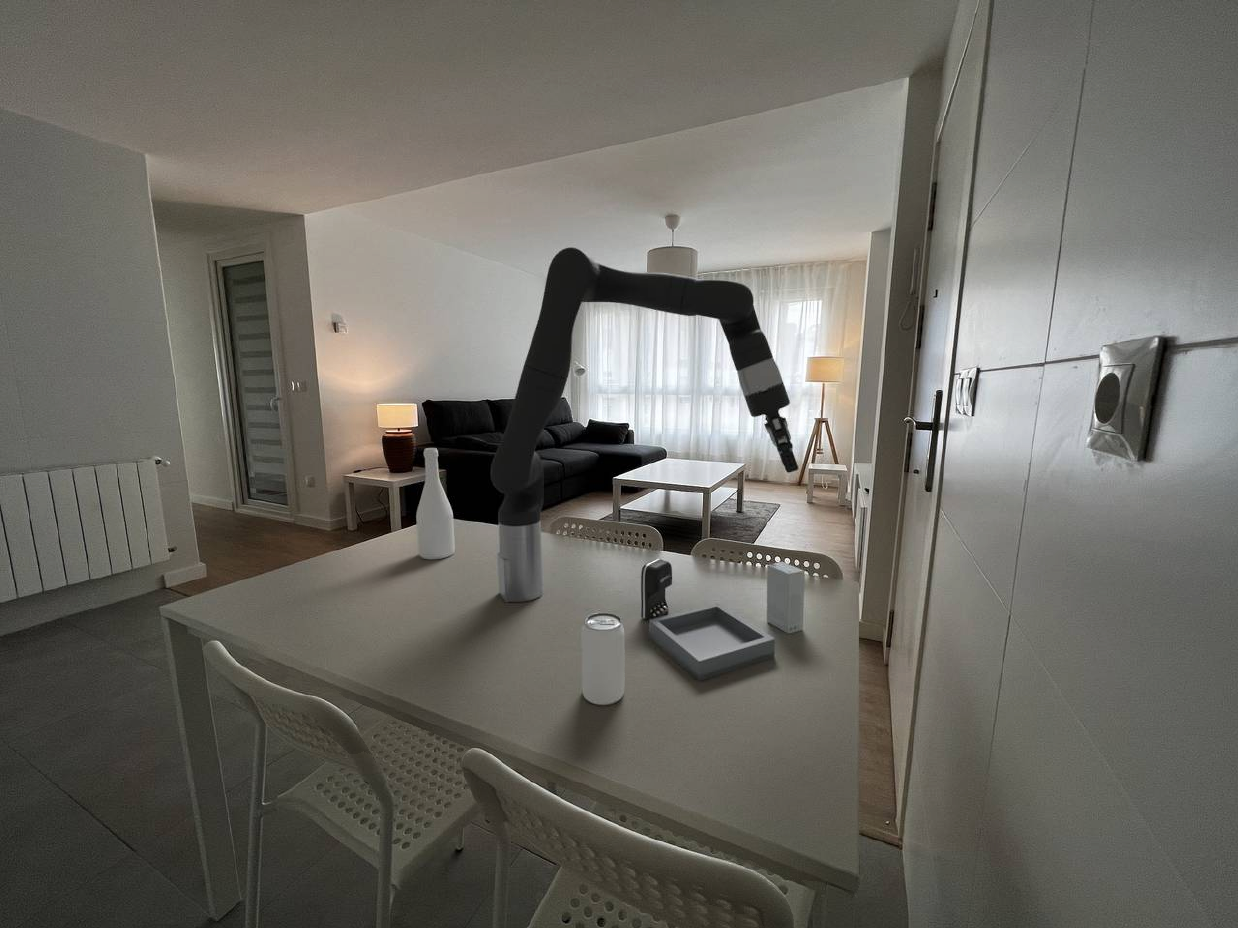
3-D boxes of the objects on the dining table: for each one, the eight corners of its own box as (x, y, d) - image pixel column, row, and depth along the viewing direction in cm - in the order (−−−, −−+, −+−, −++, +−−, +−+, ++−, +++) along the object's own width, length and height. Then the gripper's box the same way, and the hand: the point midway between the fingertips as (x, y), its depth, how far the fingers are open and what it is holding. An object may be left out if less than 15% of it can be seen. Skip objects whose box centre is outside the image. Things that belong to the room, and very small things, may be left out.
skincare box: (803, 630, 97) (807, 570, 95) (786, 635, 95) (789, 574, 93) (780, 616, 102) (783, 560, 100) (764, 621, 100) (766, 563, 99)
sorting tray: (698, 681, 80) (699, 661, 80) (648, 636, 94) (649, 619, 94) (774, 657, 87) (775, 638, 87) (717, 619, 101) (717, 603, 101)
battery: (655, 624, 99) (656, 569, 97) (639, 619, 102) (640, 565, 100) (674, 611, 105) (674, 559, 103) (658, 607, 107) (659, 555, 105)
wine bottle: (421, 550, 144) (414, 447, 139) (456, 547, 146) (450, 446, 141) (416, 561, 135) (409, 451, 130) (453, 558, 137) (447, 450, 132)
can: (582, 682, 80) (581, 611, 78) (622, 680, 81) (622, 610, 79) (582, 708, 74) (581, 632, 72) (626, 705, 74) (626, 630, 72)
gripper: (743, 393, 103) (769, 467, 104) (743, 395, 89) (773, 480, 90) (779, 380, 101) (806, 455, 102) (785, 380, 87) (815, 467, 88)
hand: (790, 467), depth 96 cm, fingers open, 8 cm apart
